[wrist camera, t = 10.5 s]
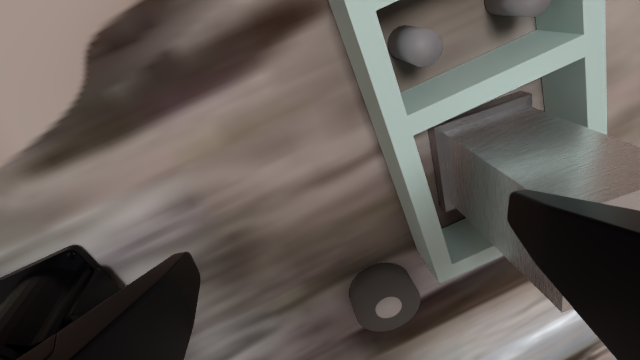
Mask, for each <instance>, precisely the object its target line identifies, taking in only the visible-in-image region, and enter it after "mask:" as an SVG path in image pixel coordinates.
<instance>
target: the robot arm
mask: <svg viewBox="0 0 640 360" xmlns="http://www.w3.org/2000/svg"><path fill="white" fill-rule="evenodd" d="M507 220H508V223H509V225H510V227H511V228H512V230H513V231H514V233H515V234H516V236H517V237H518V239H519V240H520V242H521V243H522V245H523V246H524V248H525V249H526V251H527V252H528V254H529V255H530V257H531V258H532V260H533V261H534V262H535V264H536V265H537V266H538V267H539V269H540V270H541V271H542V272H543V273H544V275H545V276H546V277H547V278H548V279H549V280H550V282H551V283H552V284H553V285H554V286H555V287H556V289H557V290H558V291H559V292H560V293H561V294H562V296H563V297H564V298H565V299H566V300H567V301H568V303H569V304H570V305H571V306H572V307H573V308H574V310H575V311H576V312H577V313H578V314H579V315H580V317H581V318H582V319H583V320H584V321H585V322H586V324H587V325H588V326H589V327H590V328H591V329H592V331H593V332H594V333H595V334H596V335H597V336H598V338H599V339H600V340H601V341H602V342H603V343H604V345H605V346H606V347H607V348H608V349H609V350H610V352H611V353H612V354H613V355H614V356H615V357H616V359H617V360H640V211H639V210H634V209H629V208H623V207H618V206H613V205H608V204H602V203H597V202H592V201H586V200H581V199H576V198H570V197H565V196H560V195H555V194H549V193H544V192H539V191H533V190H528V189H523V190H518V191H513V192H512V193H511V194H510V196H509V203H508V212H507ZM70 253H74V254H75V255H76V256H74V255H71V254H70ZM199 288H200V273H199V271H198V269H197V266H196V264H195V262H194V260H193V258H192V256H191V254H190V253H189V252H182V253H177V254H174V255H172V256H171V257H169V258H168V259H166V260H165V261H163V262H162V263H160V264H159V265H157V266H156V267H154V268H153V269H151V270H150V271H148V272H147V273H145V274H144V275H142V276H141V277H139V278H138V279H136V280H135V281H133V282H132V283H131V284H129V285H128V286H126V287H125V288H123V289H122V290H121V289H120V288H119V287H118V286H117V285H116V284H115V283H114V282H113V281H112V280H111V279H110V278H109V277H108V275H107V274H106V273H105V272H104V271H103V270H101V269H100V268H99V267H98V266H97V264H96V263H95V262H94V261H93V260H92V259H91V258H90V257H89V256H88V255H87V254H86V253H85V252H84V251H83V250H82V249H81V248H80V247H78V246H68V247H66V248H64V249H62V250H60V251H58V252H55V253H53V254H51V255H49V256H47V257H45V258H42V259H40V260H38V261H36V262H34V263H32V264H29V265H27V266H25V267H23V268H21V269H19V270H17V271H14V272H12V273H10V274H8V275H6V276H4V277H1V278H0V360H184V357H185V353H186V350H187V346H188V343H189V339H190V336H191V332H192V329H193V324H194V319H195V313H196V307H197V301H198V294H199Z"/></svg>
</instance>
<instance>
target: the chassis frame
mask: <svg viewBox="0 0 640 360" xmlns="http://www.w3.org/2000/svg"><path fill="white" fill-rule="evenodd" d="M328 1H329V4H330V7H331V9H332V12H333V15H334V18H335V21H336V23H337V26H338V29H339V32H340V35H341V37H342V40H343V43H344V46H345V49H346V52H347V54H348V57H349V60H350V63H351V66H352V68H353V71H354V74H355V77H356V80H357V82H358V85H359V88H360V91H361V94H362V96H363V99H364V102H365V105H366V108H367V110H368V113H369V116H370V119H371V122H372V125H373V127H374V130H375V133H376V136H377V139H378V141H379V144H380V147H381V150H382V153H383V155H384V158H385V161H386V164H387V167H388V169H389V172H390V175H391V178H392V181H393V183H394V186H395V189H396V192H397V195H398V197H399V200H400V203H401V206H402V209H403V212H404V214H405V217H406V220H407V223H408V226H409V228H410V231H411V234H412V237H413V240H414V242H415V245H416V248H417V251H418V253H419V255H420V256H421V258H422V259H423V261H424V262H425V263H426V265H427V266H428V268H429V269H430V271H431V272H432V274H433V275H434V277H435V278H436V279H437V281H438V282H439V284H441V283H443V282H445V281H447V280H450V279H452V278H454V277H456V276H459V275H461V274H463V273H465V272H467V271H470V270H472V269H474V268H476V267H479V266H481V265H483V264H485V263H487V262H490V261H492V260H494V259H496V258H499V257H501V256H503V254H502V253H501V252H500V251H499V250H498V249H497V248H496V247H495V246H494V245H493V244H492V243H491V242H490V241H489V240H488V239H487V238H486V237H485V236H484V235H483V234H482V233H481V232H480V231H479V230H478V229H477V228H476V227H475V226H474V225H473V224H472V223H471V222H470V221H469V220H468V219H467V218H465V219H463V220H460V221H458V222H456V223H454V224H452V225H449V226H447V227H445V228H443V229H441V226H440V223H439V219H438V216H437V213H436V210H435V206H434V203H433V200H432V196H431V193H430V190H429V186H428V183H427V180H426V176H425V173H424V170H423V166H422V163H421V160H420V156H419V153H418V150H417V147H416V143H415V140H414V137H413V136H414V135H416V134H418V133H420V132H422V131H424V130H427V129H429V128H431V127H433V126H435V125H438V124H440V123H442V122H444V121H446V120H448V119H451V118H453V117H455V116H457V115H459V114H461V113H464V112H466V111H468V110H470V109H472V108H475V107H477V106H479V105H481V104H483V103H485V102H488V101H490V100H492V99H494V98H496V97H499V96H501V95H503V94H505V93H507V92H509V91H512V90H514V89H516V88H518V87H520V86H522V85H525V84H527V83H529V82H531V81H533V80H536V79H538V78H540V77H541V78H542V88H543V98H544V108H545V112H547V113H549V114H552V115H555V116H557V117H560V118H563V119H565V120H568V121H571V122H573V123H576V124H579V125H581V126H584V127H587V128H590V129H592V130H595V131H598V132H600V133H603V134H606V135H607V100H606V26H605V0H485V7H486V9H487V11H488V12H489V13H490V14H493V15H504V16H522V17H535V20H536V29H537V30H535V31H533V32H531V33H529V34H526V35H524V36H522V37H520V38H518V39H516V40H513V41H511V42H509V43H507V44H505V45H503V46H500V47H498V48H496V49H494V50H492V51H490V52H487V53H485V54H483V55H481V56H479V57H477V58H474V59H472V60H470V61H468V62H466V63H464V64H461V65H459V66H457V67H455V68H453V69H451V70H448V71H446V72H444V73H442V74H440V75H438V76H435V77H433V78H431V79H429V80H427V81H425V82H422V83H420V84H418V85H416V86H414V87H412V88H409V89H407V90H405V91H403V92H401V93H400V90H399V87H398V84H397V80H396V77H395V74H394V70H393V67H392V64H391V60H390V57H389V54H388V50H387V47H386V44H385V40H384V37H383V34H382V31H381V27H380V24H379V21H378V17H377V14H376V11H377V10H379V9H381V8H383V7H385V6H387V5H389V4H392V3H394V2H396V1H398V0H328ZM442 47H443V43H442V39H441V37H440V35H439V34H438V33H437V32H436V31H434V30H431V29H425V28H419V27H413V26H406V25H403V26H399V27H397V28H396V29H394V30H393V31H392V33H391V34H390V36H389V39H388V49H389V52H390V53H391V55H392V56H393V57H395V58H397V59H400V60H403V61H405V62H408V63H411V64H413V65H416V66H418V67H428V66H430V65H432V64H433V63H435V62H436V61H437V60H438V58H439V57H440V55H441V52H442Z"/></svg>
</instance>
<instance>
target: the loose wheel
mask: <svg viewBox="0 0 640 360" xmlns="http://www.w3.org/2000/svg"><path fill="white" fill-rule="evenodd" d="M349 297H350V301H351V303H352V306H353V309H354V312H355V315H356V318H357V320H358V322H359V323H360V325H361V326H363V327H364V328H366V329H368V330H371V331H376V332H383V331H390V330H393V329H396V328H398V327H400V326H402V325H404V324H405V323H407V322H408V321H409V320H410V319H411V318H412V317H413V316H414V315H415V313H416V312H417V310H418V308H419V305H420V294H419V292H418V290H417V288H416V287H415V285H414V283H413V281H412V280H411V278H410V276H409V275H408V273H407V272H406V270H405V269H404V268H402V267H401V266H399V265H396V264H393V263H380V264H376V265H373V266H370V267H368V268H366V269H365V270H363V271H362V272H360V273H359V274H358V275H357V276H356V277H355V279H354V280H353V282H352V283H351V286H350V289H349Z"/></svg>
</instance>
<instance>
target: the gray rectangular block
mask: <svg viewBox="0 0 640 360" xmlns="http://www.w3.org/2000/svg"><path fill="white" fill-rule="evenodd" d="M428 133H429V140H430V146H431V153H432V159H433V166H434V172H435V179H436V186H437V192H438V199H439V205H440V206H441V207H442V208H443V209H444V210H445V212H448V211H451V210H454V209H456V208H457V209H458V210H459V211H460V212H461V213H462V214H463V215H464V216H465V217H466V218H467V219H468V220H469V221H470V222H471V223H472V224H473V225H474V226H475V227H476V228H477V229H478V230H479V231H480V232H481V233H482V234H483V235H484V236H485V237H486V238H487V239H488V240H489V241H490V242H491V243H492V244H493V245H494V246H495V247H496V248H497V249H498V250H499V251H500V252H501V253H502V254H503V255H504V256H505V257H506V258H507V259H508V260H509V261H510V262H511V263H512V264H513V265H514V266H515V267H516V268H517V269H518V270H519V271H520V272H521V273H522V274H523V275H524V276H525V277H526V278H527V279H528V280H529V281H530V282H531V283H533V284H534V285H535V286H536V287H537V288H538V289H539V290H540V291H541V292H542V293H543V294H544V295H545V296H546V297H547V298H548V299H549V300H550V301H551V302H552V303H553V304H554V305H555V306H556V307H557V308H558V309H559V310H560V311H561V312H565V311H567V310H570V309H573V307H572V306H571V305H570V304H569V303H568V301H567V300H566V299H565V298H564V297H563V296H562V294H561V293H560V292H559V291H558V290H557V289H556V287H555V286H554V285H553V284H552V283H551V282H550V280H549V279H548V278H547V277H546V276H545V275H544V273H543V272H542V271H541V270H540V269H539V267H538V266H537V265H536V264H535V262H534V261H533V260H532V258H531V257H530V255H529V254H528V252H527V251H526V249H525V248H524V246H523V245H522V243H521V242H520V240H519V239H518V237H517V236H516V234H515V233H514V231H513V230H512V228H511V227H510V225H509V223H508V220H507V212H508V203H509V196H510V194H511V193H512V192H513V191H518V190H523V189H528V190H533V191H539V192H544V193H549V194H555V195H560V196H565V197H570V198H576V199H581V200H586V201H592V202H597V203H602V204H608V205H613V206H618V207H623V208H629V209H634V210H639V211H640V147H638V146H635V145H632V144H630V143H627V142H624V141H622V140H619V139H616V138H614V137H611V136H608V135H606V134H603V133H600V132H598V131H595V130H592V129H590V128H587V127H584V126H581V125H579V124H576V123H573V122H571V121H568V120H565V119H563V118H560V117H557V116H555V115H552V114H549V113H547V112H544V111H541V110H539V109H536V108H533V107H532V94H530V93H527V92H524V91H519V92H516V93H513V94H510V95H507V96H504V97H501V98H498V99H495V100H492V101H489V102H487V103H484V104H481V105H479V106H477V107H475V108H472V109H470V110H468V111H466V112H464V113H461V114H459V115H457V116H455V117H453V118H451V119H448V120H446V121H444V122H442V123H440V124H438V125H435V126H433V127H431V128H429V129H428Z"/></svg>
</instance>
